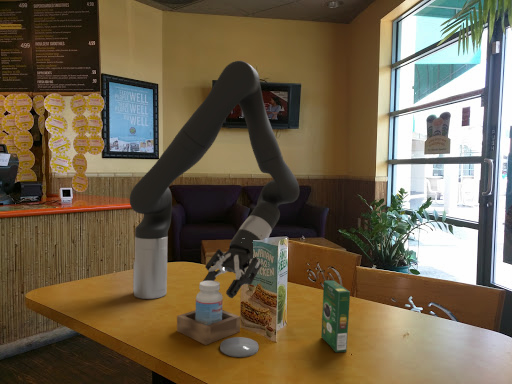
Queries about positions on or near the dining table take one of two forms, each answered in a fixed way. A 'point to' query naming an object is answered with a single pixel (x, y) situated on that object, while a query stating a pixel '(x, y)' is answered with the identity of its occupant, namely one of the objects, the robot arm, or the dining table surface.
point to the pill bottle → (209, 303)
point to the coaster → (239, 347)
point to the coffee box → (335, 315)
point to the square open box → (208, 327)
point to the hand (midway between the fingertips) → (216, 291)
